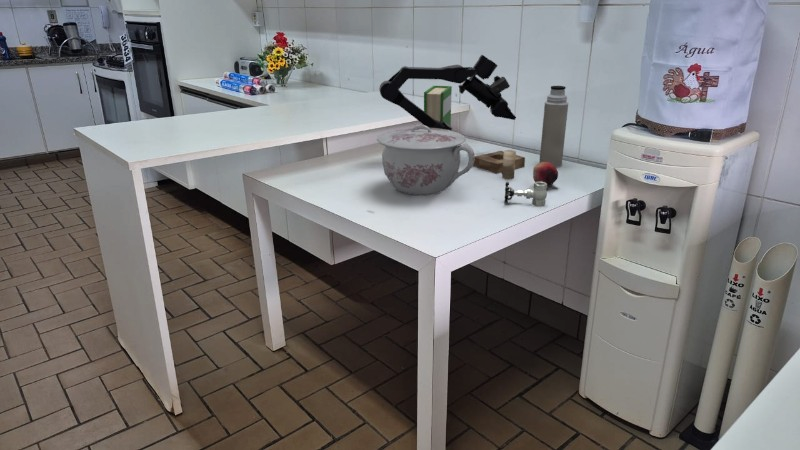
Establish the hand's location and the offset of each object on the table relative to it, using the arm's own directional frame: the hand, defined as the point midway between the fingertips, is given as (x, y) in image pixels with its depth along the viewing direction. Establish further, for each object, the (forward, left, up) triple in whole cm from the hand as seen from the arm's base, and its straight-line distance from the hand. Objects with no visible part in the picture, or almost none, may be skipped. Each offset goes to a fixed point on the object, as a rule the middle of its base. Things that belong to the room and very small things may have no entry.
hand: (512, 115), depth 199 cm
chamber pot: (-47, -6, -17) cm, 50 cm away
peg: (-16, -14, -17) cm, 27 cm away
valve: (-31, -36, -17) cm, 50 cm away
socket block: (-9, -3, -17) cm, 19 cm away
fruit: (-14, -28, -17) cm, 36 cm away
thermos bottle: (+8, -12, -17) cm, 23 cm away
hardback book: (-11, +30, -17) cm, 36 cm away
